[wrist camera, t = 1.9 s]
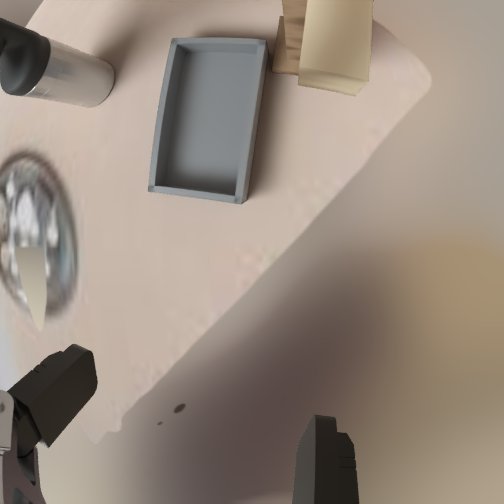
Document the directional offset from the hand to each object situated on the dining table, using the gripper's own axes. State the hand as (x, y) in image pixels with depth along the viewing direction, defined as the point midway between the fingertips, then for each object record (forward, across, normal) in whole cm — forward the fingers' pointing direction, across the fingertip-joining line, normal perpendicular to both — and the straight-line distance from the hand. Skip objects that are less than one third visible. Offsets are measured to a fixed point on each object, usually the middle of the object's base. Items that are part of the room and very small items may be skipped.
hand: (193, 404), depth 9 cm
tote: (+38, -12, +14) cm, 42 cm away
